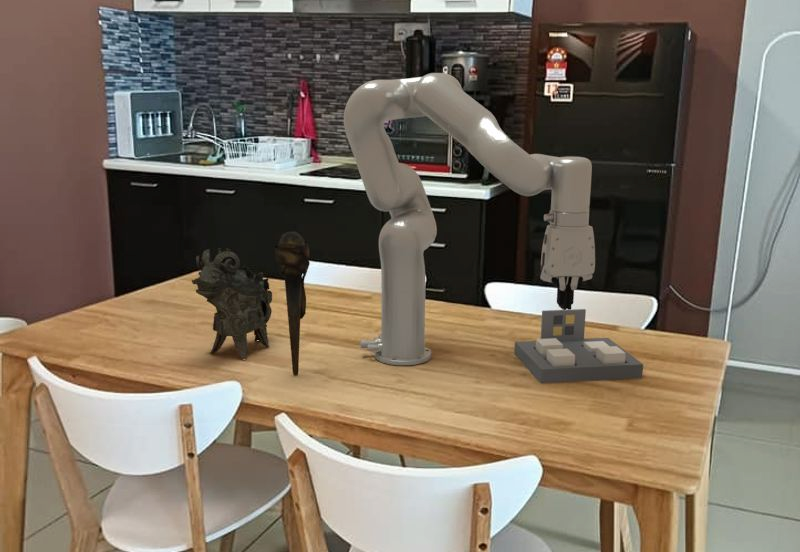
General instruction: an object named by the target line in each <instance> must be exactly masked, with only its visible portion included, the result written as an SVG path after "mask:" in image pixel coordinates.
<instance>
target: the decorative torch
mask: <svg viewBox="0 0 800 552" xmlns="http://www.w3.org/2000/svg"><path fill="white" fill-rule="evenodd" d="M274 254H275V260H276V262H277V264H278V265H279V268H280V271H281V274H283V276H284V287H285V297H286V299H285V301H286V308H287V309H286V311H287V320H288V321H287V322H288V331H289V333H288V334H289V344H290V353H291V354H290V355H291V363H292V364H291V365H292V370H291V371H292V374H293V375H294V376H296V375H298V374H299V366H300V365H299V362H300V359H299V358H300V336H301V320H302V319H303V318H304V317H305V315H306V310H307V295H306V290H305V278H306V276H307V273H308V270H309V266H310V263H311V262H310V247H309V244H308V242H307V241H305V239H304V238H303V237H302V235H301V234H300V233H298V232H297V231H287V232H285V233H283V234H282V235H281V238H279V241H277V245H275V246H274Z"/></svg>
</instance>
